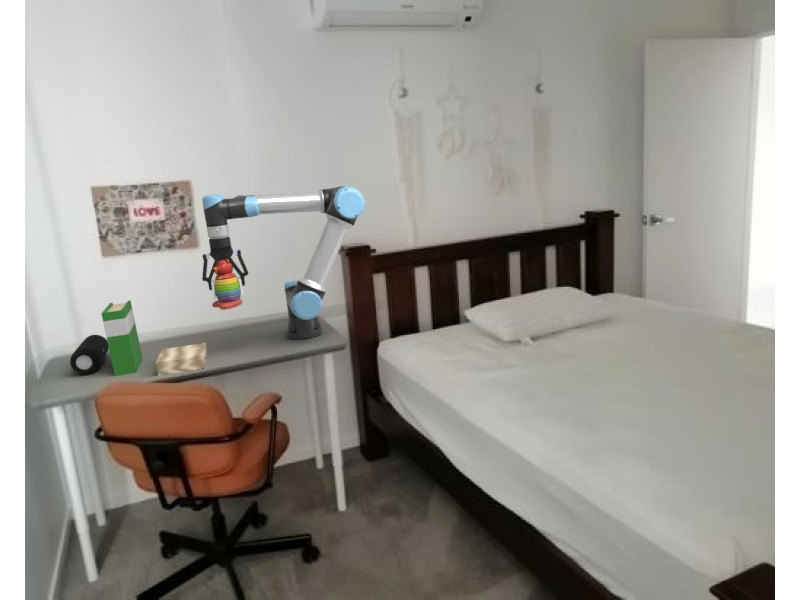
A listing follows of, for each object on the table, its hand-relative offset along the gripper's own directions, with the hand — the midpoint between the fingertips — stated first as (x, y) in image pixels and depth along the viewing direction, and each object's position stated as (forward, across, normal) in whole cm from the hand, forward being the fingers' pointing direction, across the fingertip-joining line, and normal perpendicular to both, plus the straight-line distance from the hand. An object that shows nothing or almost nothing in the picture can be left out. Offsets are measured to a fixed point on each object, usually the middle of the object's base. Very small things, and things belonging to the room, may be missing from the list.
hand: (228, 296), depth 226 cm
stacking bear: (+4, 0, 0) cm, 4 cm away
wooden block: (+23, -20, -2) cm, 31 cm away
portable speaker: (+24, -56, +17) cm, 64 cm away
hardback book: (+24, -41, +7) cm, 48 cm away
